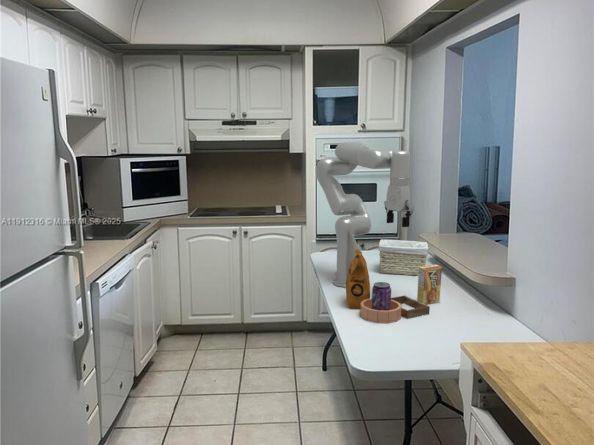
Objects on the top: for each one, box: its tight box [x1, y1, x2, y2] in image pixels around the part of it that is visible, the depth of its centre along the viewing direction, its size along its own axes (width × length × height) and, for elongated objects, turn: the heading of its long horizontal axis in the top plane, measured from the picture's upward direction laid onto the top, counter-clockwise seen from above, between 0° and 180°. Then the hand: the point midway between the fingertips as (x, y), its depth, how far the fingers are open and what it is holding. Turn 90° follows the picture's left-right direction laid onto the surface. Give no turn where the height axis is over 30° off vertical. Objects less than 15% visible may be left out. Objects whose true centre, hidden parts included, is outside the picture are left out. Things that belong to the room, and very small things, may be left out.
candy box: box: [416, 264, 443, 305], centre depth 203 cm, size 9×4×15 cm, turn 116°
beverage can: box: [371, 281, 392, 311], centre depth 188 cm, size 7×7×12 cm
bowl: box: [359, 297, 403, 324], centre depth 189 cm, size 15×15×4 cm
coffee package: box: [345, 248, 371, 310], centre depth 200 cm, size 10×12×22 cm
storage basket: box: [378, 239, 429, 276], centre depth 249 cm, size 24×16×15 cm
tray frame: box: [391, 294, 431, 320], centre depth 195 cm, size 15×11×3 cm
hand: (397, 224), depth 200 cm, fingers open, 9 cm apart
